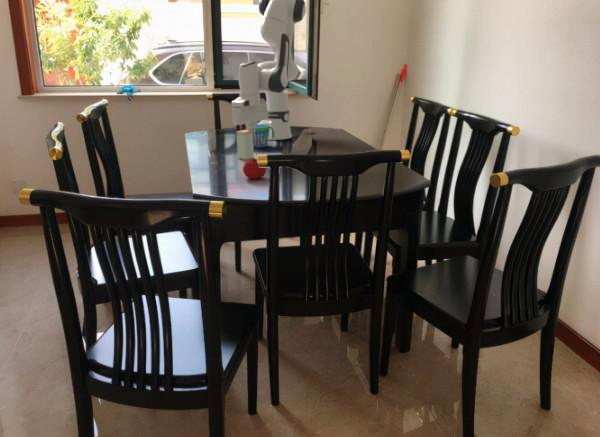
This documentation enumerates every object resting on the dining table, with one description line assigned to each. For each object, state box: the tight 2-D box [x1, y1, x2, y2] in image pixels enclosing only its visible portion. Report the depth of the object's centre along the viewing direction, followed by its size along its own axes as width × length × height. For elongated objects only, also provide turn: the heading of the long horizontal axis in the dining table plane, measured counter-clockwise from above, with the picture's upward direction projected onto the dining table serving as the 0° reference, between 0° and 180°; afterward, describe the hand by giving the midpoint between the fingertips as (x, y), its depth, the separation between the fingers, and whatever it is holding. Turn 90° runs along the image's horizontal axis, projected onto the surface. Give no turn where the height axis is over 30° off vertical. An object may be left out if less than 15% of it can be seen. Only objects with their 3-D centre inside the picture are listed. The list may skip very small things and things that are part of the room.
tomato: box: [242, 157, 267, 180], centre depth 193 cm, size 9×9×8 cm
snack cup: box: [245, 123, 274, 149], centre depth 248 cm, size 16×10×10 cm
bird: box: [288, 128, 316, 155], centre depth 212 cm, size 5×14×15 cm, turn 63°
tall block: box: [236, 129, 255, 160], centre depth 225 cm, size 5×5×12 cm
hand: (251, 132), depth 226 cm, fingers closed
